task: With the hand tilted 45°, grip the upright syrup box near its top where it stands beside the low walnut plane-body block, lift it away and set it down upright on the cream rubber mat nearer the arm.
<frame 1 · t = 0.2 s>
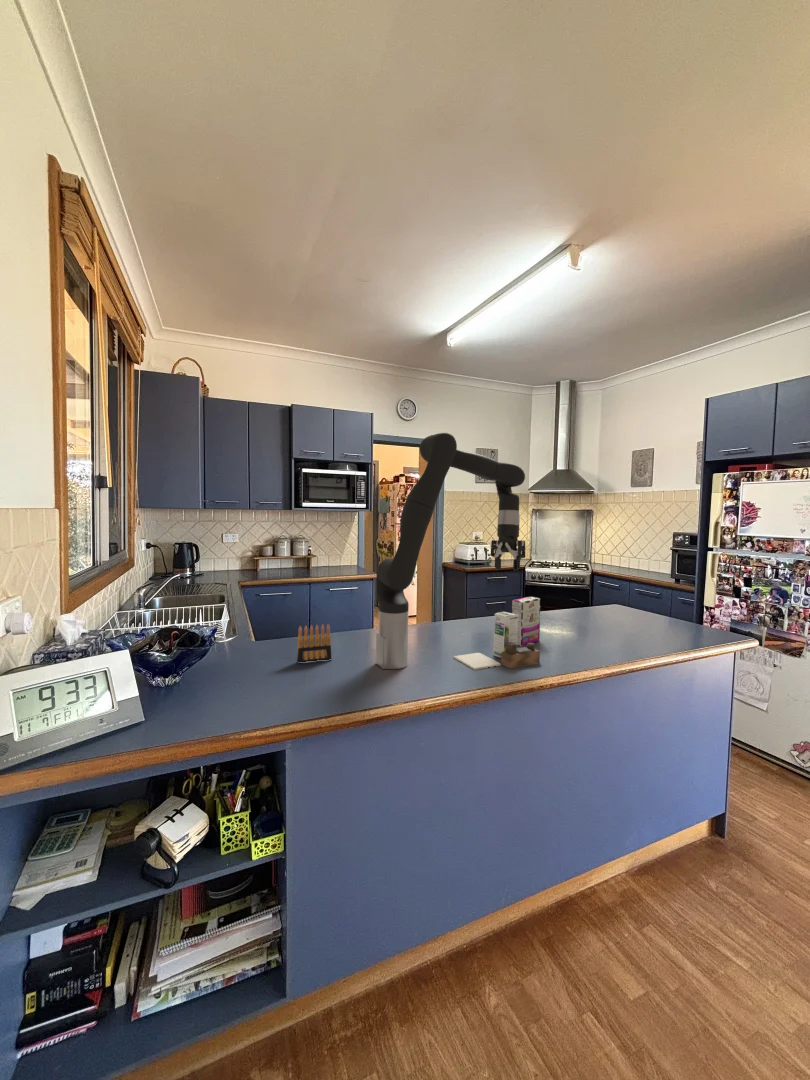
hand: (506, 569, 157), 28 cm above the countertop, tool pointing down, fingers open, 8 cm apart
ammunition clip: (314, 662, 142), on the countertop
candy bar box: (525, 643, 167), on the countertop
mat: (476, 661, 144), on the countertop
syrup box: (504, 656, 150), on the countertop
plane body: (520, 663, 143), on the countertop
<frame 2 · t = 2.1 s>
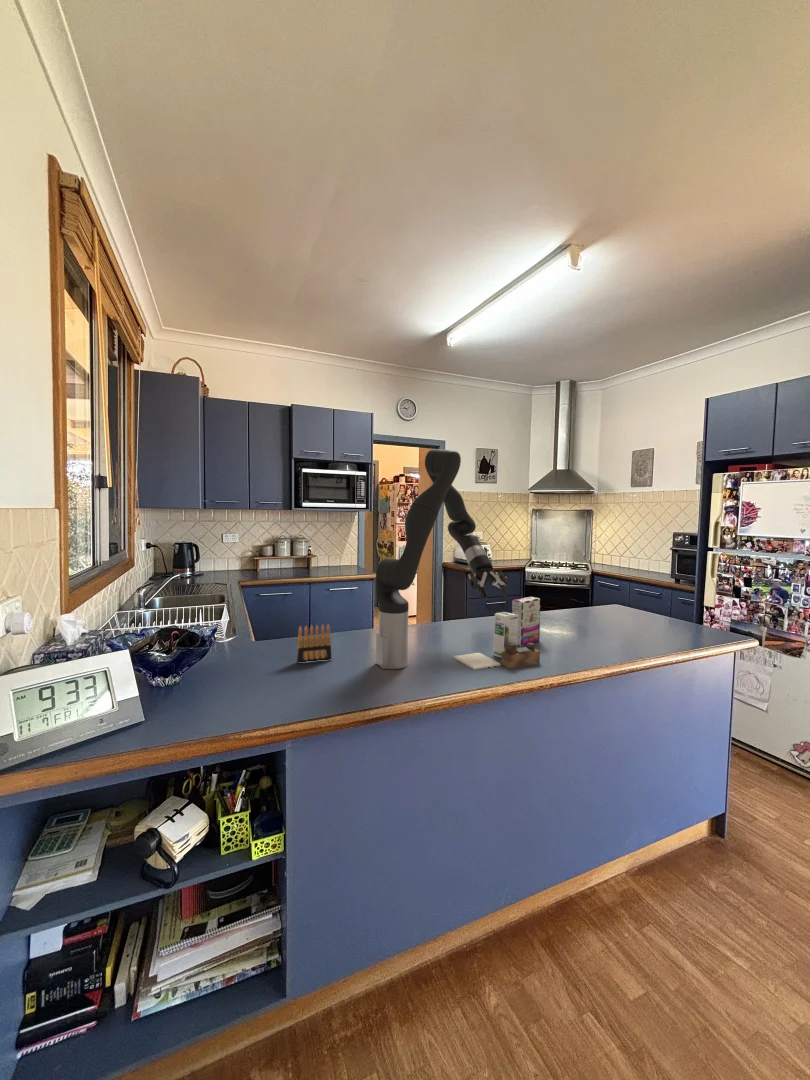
hand: (496, 597, 154), 19 cm above the countertop, tool tilted 45°, fingers open, 8 cm apart
nothing on the countertop moved.
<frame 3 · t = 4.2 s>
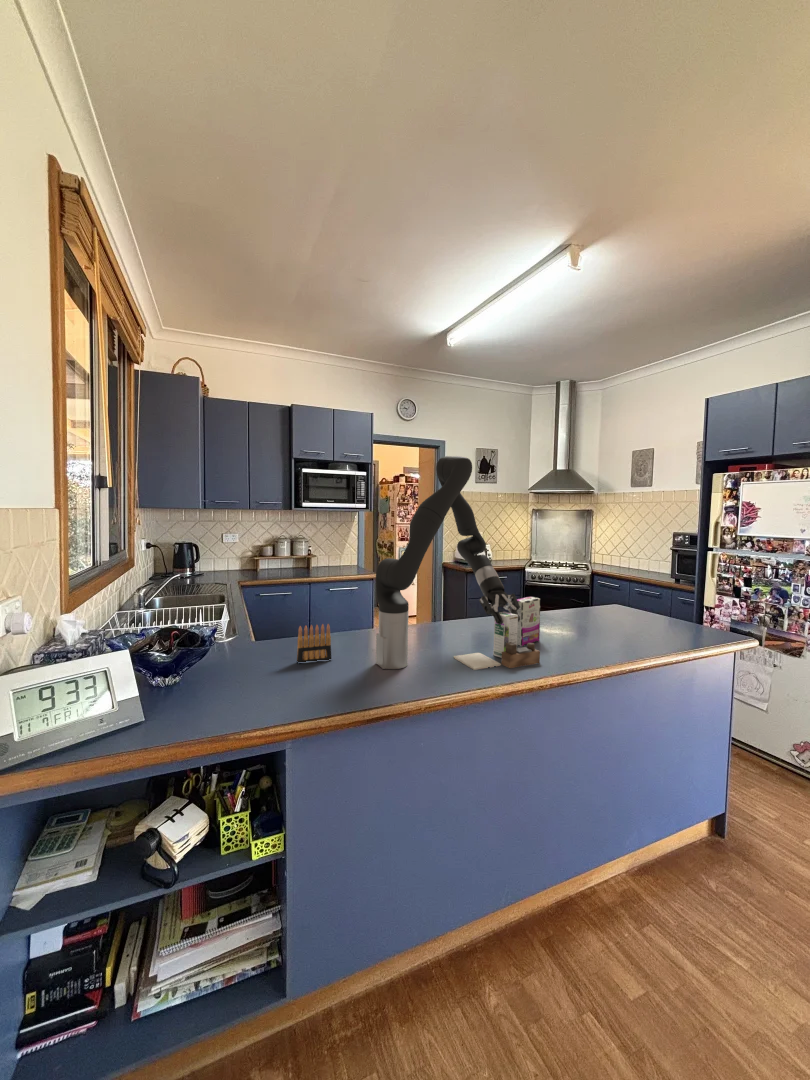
hand: (509, 622, 148), 12 cm above the countertop, tool tilted 45°, fingers closed on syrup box, 6 cm apart
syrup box: (504, 656, 150), on the countertop, touching gripper
everything else where it was.
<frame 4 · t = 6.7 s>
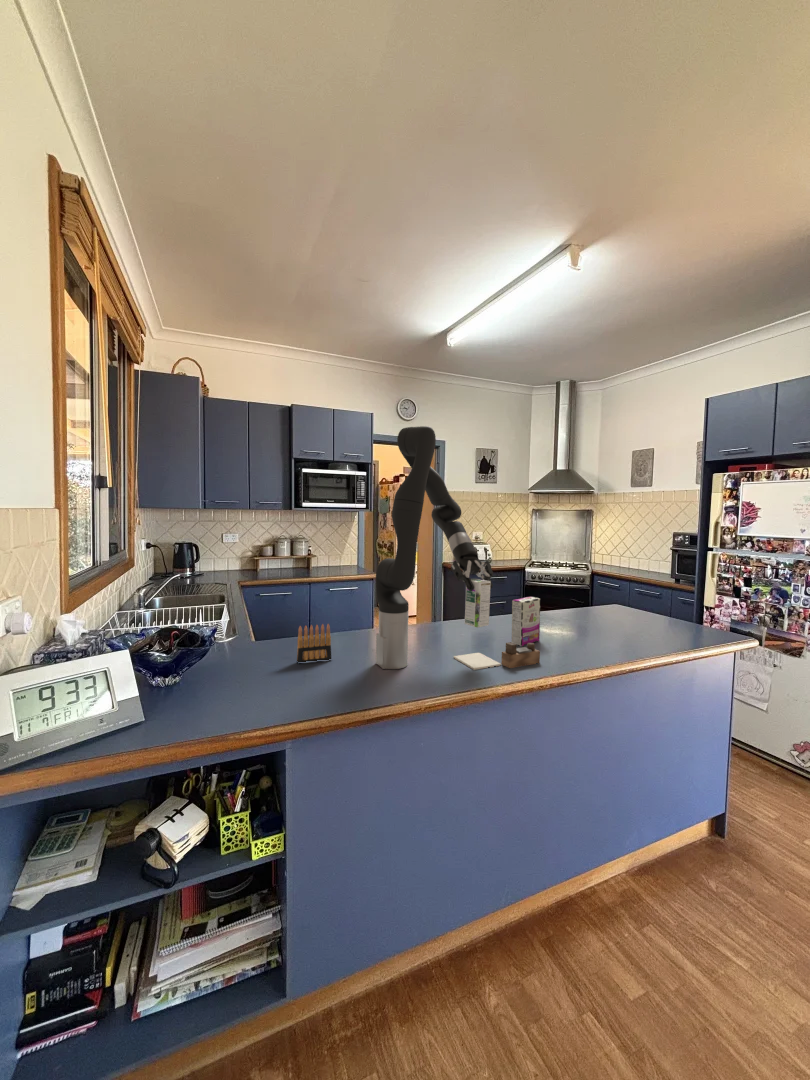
hand: (481, 589, 141), 24 cm above the countertop, tool tilted 45°, fingers closed on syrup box, 6 cm apart
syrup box: (476, 625, 144), point 12 cm above the countertop, touching gripper
everything else where it was.
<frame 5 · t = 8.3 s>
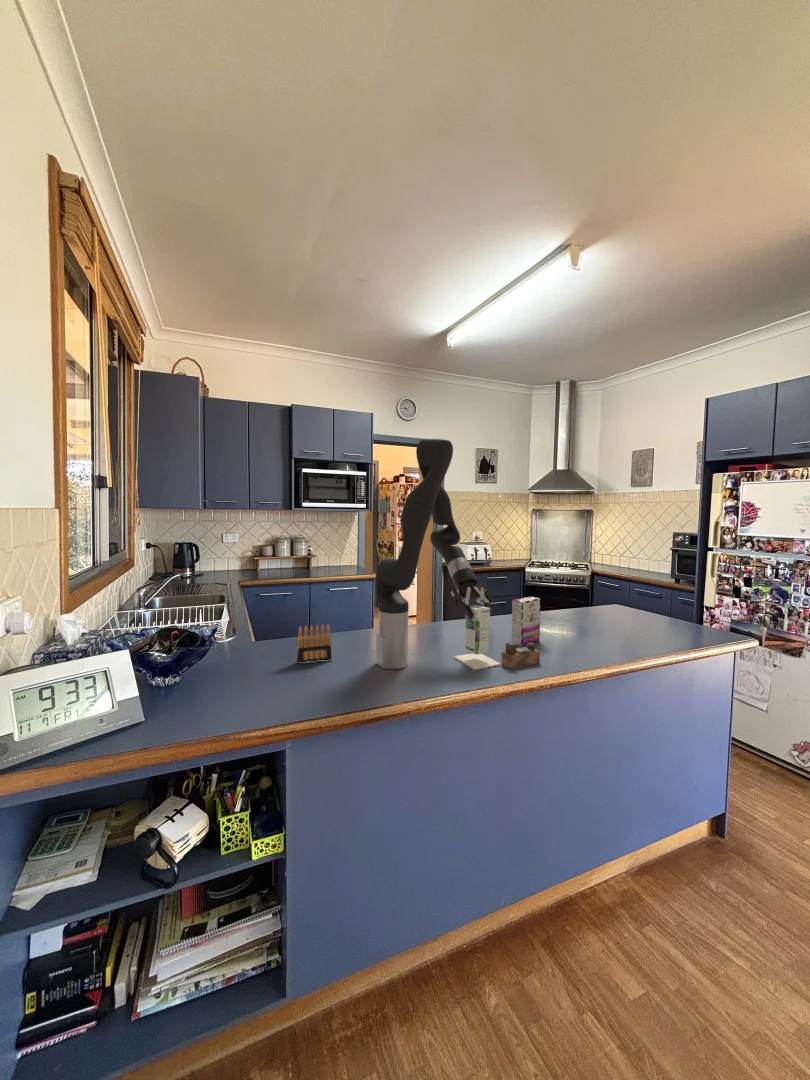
hand: (481, 616, 142), 15 cm above the countertop, tool tilted 45°, fingers closed on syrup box, 6 cm apart
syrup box: (476, 651, 144), point 3 cm above the countertop, touching gripper
everything else where it was.
when the fingers open (13 cm above the countertop, at t = 9.3 s): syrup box stays where it is, resting on mat.
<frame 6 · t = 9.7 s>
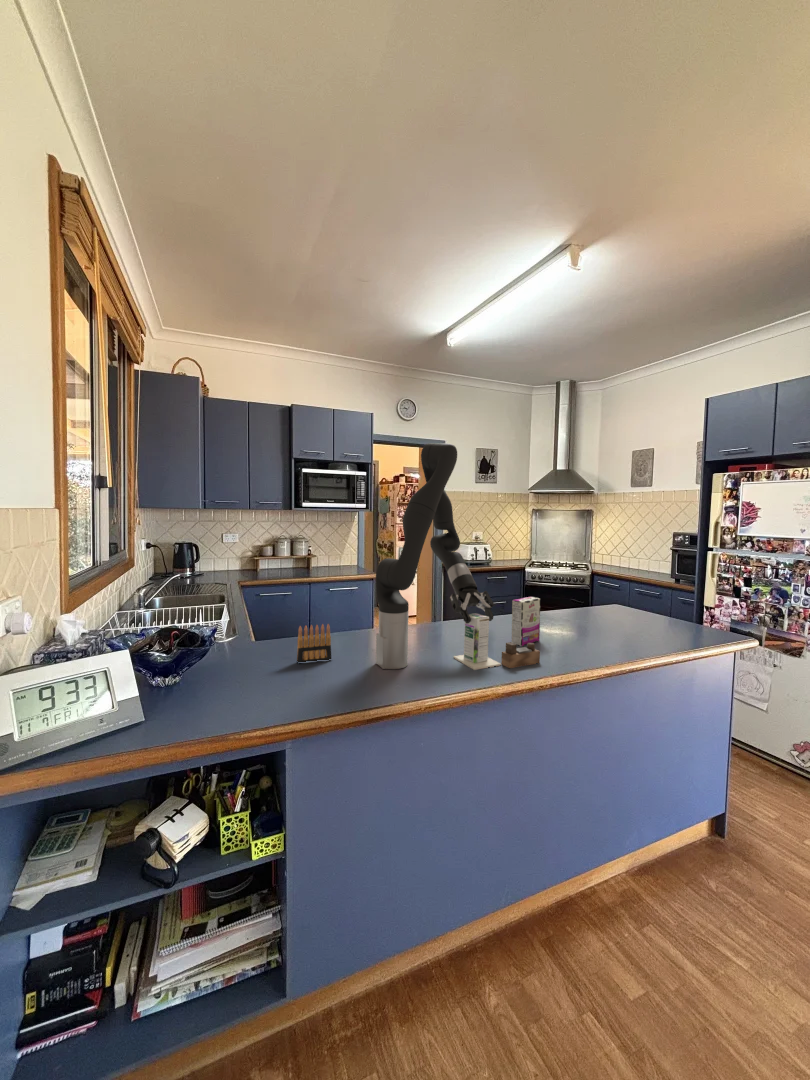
hand: (480, 621, 142), 14 cm above the countertop, tool tilted 45°, fingers open, 8 cm apart
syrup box: (475, 660, 144), resting on mat
everything else where it was.
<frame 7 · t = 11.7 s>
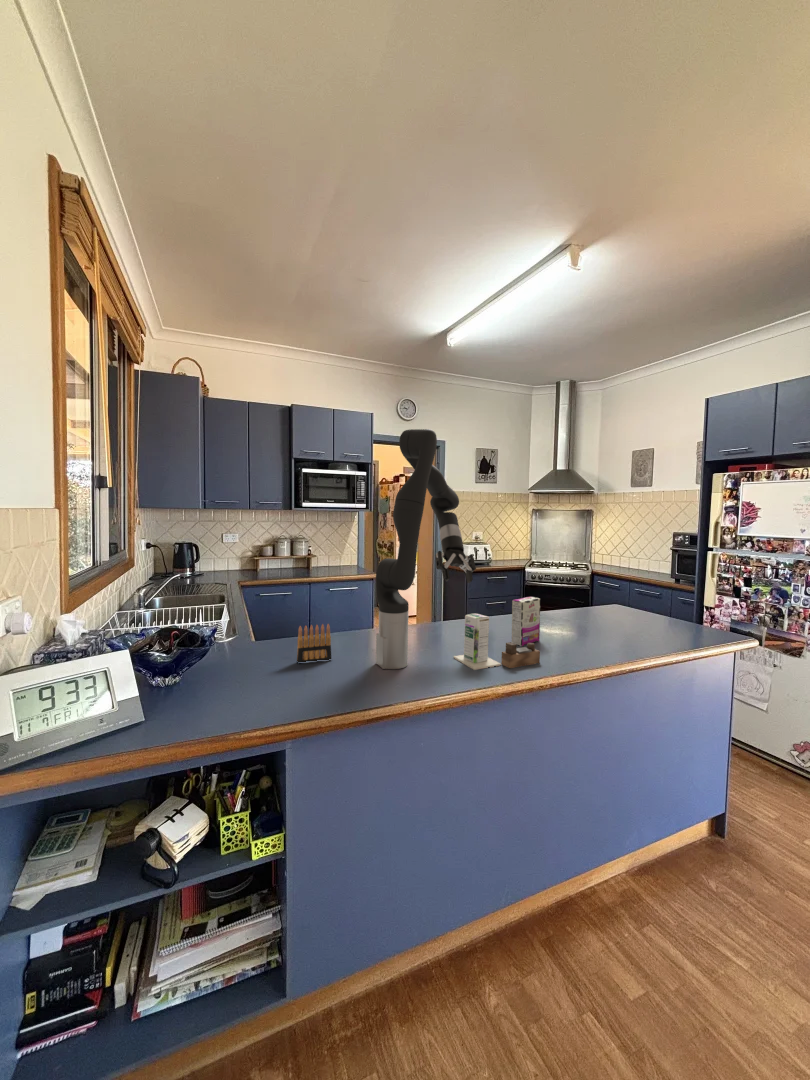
hand: (458, 581, 151), 25 cm above the countertop, tool tilted 35°, fingers open, 8 cm apart
nothing on the countertop moved.
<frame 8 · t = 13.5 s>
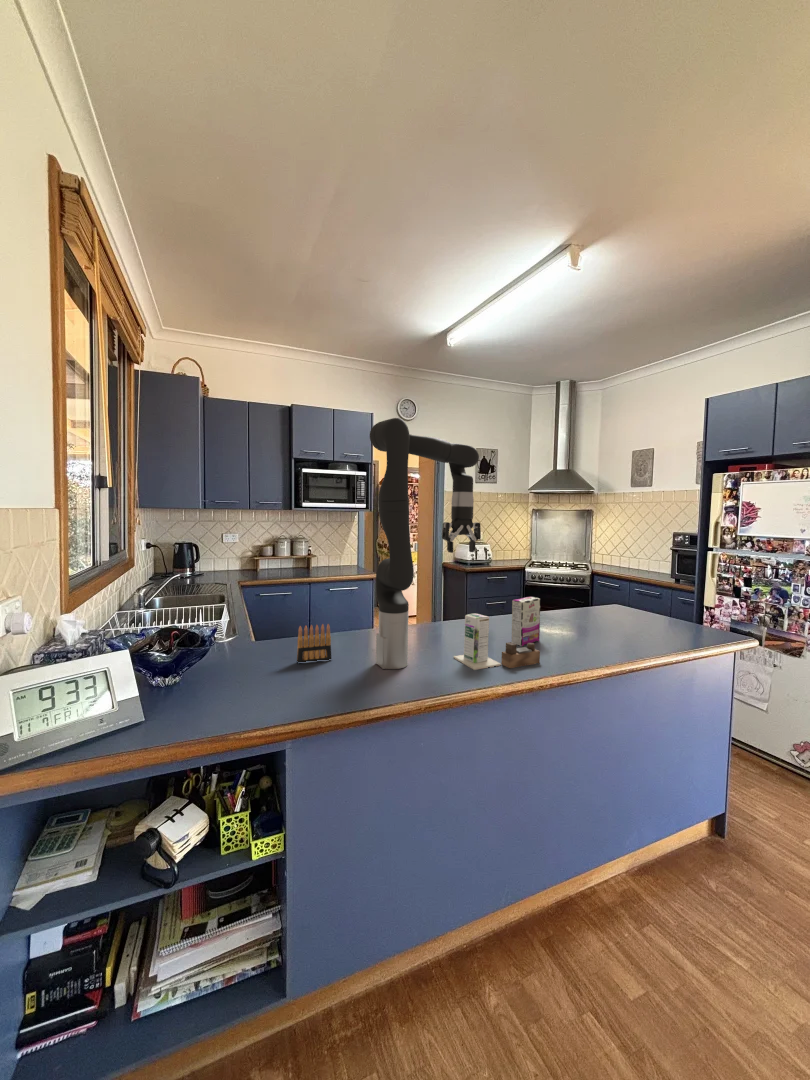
hand: (461, 552, 156), 34 cm above the countertop, tool pointing down, fingers open, 8 cm apart
nothing on the countertop moved.
at the end: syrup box inside the target area on the mat (0.3 cm from its centre), point 0.4 cm above the mat's base; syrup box tilted 0°; the gripper is holding nothing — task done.
